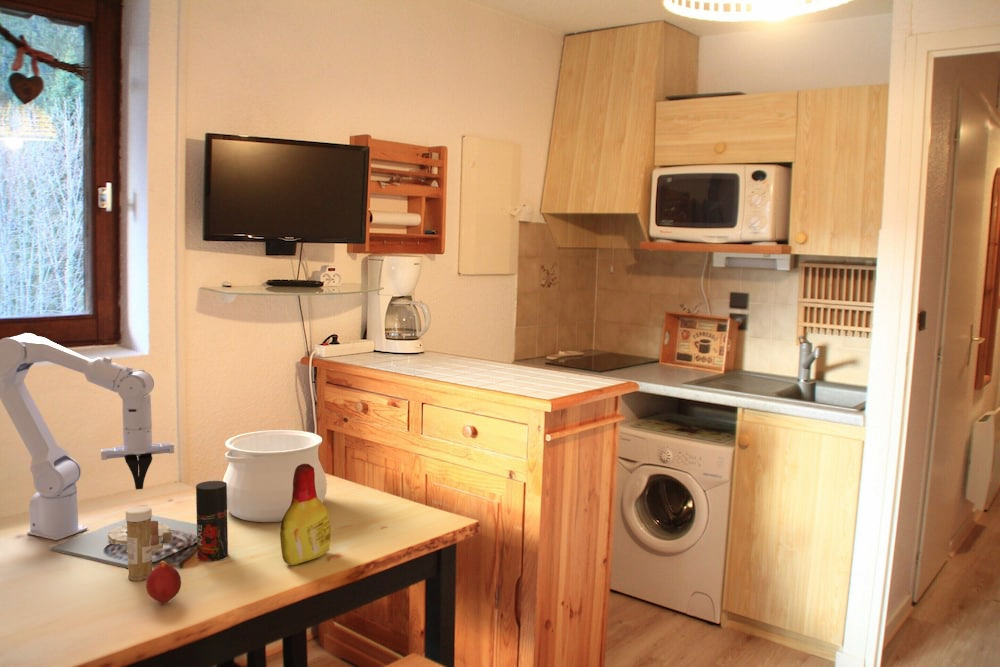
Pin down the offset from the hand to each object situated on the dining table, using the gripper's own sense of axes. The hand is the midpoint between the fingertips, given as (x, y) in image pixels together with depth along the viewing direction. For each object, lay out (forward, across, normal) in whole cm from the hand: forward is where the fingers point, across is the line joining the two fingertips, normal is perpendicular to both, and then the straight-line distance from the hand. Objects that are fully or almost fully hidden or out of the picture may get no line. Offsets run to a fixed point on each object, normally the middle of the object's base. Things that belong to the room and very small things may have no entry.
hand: (139, 488), depth 183 cm
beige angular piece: (+9, 0, -8) cm, 12 cm away
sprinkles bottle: (+10, -2, -26) cm, 28 cm away
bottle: (+10, +28, -31) cm, 43 cm away
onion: (+10, 0, -41) cm, 42 cm away
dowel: (+10, +4, -13) cm, 17 cm away
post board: (+10, -1, -6) cm, 11 cm away
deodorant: (+10, +12, -21) cm, 26 cm away
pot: (+10, +30, +3) cm, 32 cm away
